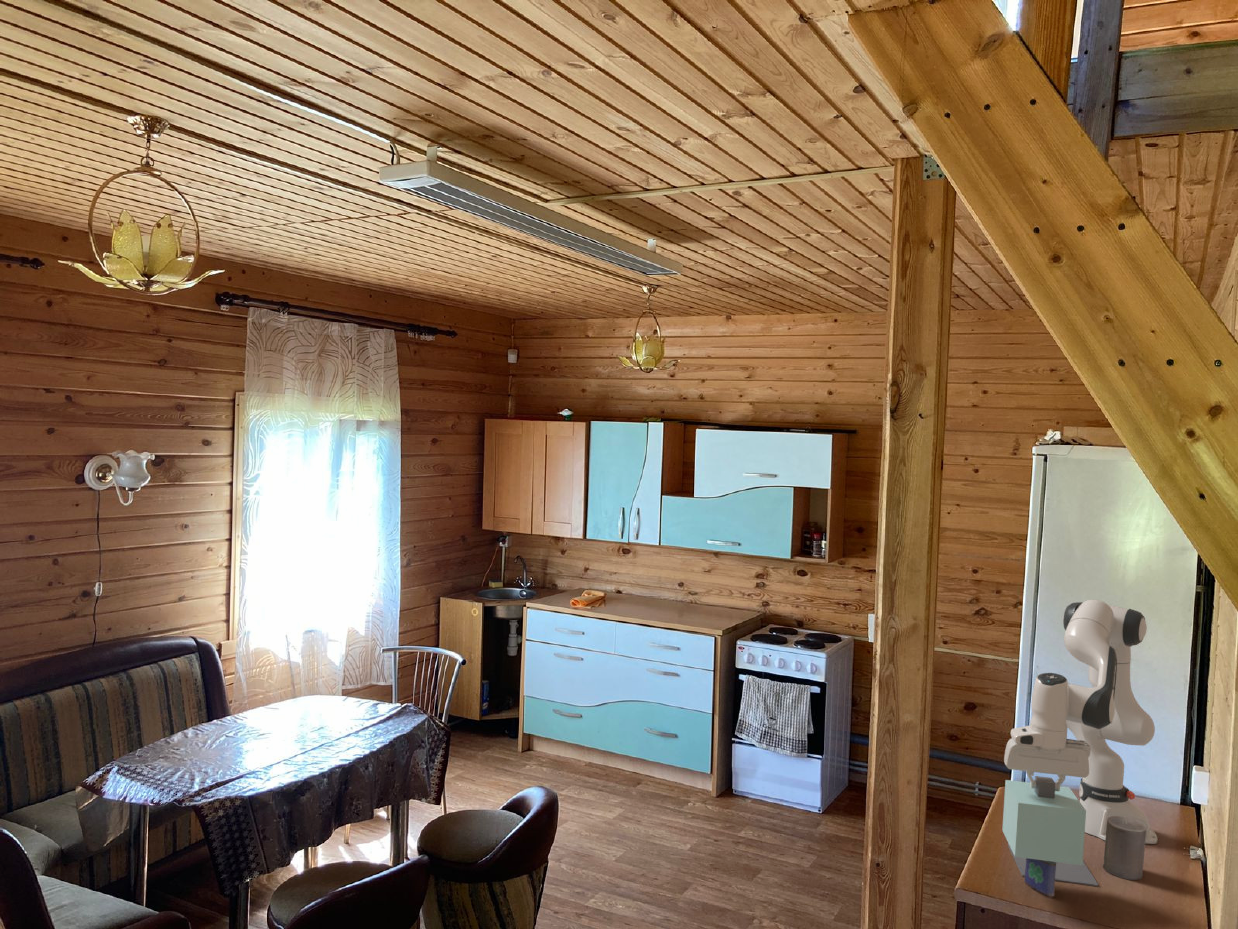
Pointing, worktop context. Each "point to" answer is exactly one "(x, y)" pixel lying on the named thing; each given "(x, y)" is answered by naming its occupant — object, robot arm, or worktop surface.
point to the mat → (1064, 872)
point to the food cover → (1044, 821)
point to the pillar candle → (1124, 847)
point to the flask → (1040, 876)
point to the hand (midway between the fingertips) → (1044, 789)
